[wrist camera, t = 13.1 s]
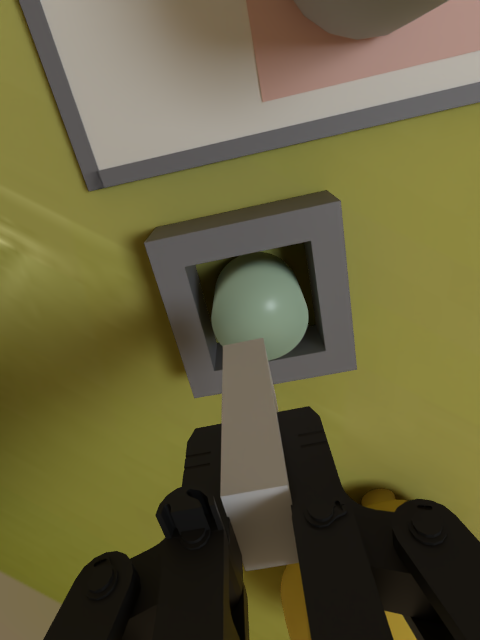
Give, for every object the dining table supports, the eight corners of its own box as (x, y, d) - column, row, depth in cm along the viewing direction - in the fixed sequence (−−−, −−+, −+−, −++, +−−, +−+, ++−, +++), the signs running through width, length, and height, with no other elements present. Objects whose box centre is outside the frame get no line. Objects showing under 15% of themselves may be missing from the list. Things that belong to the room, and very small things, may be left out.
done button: (225, 336, 23) (223, 368, 20) (206, 261, 21) (200, 285, 18) (303, 321, 23) (314, 352, 20) (291, 244, 21) (301, 265, 18)
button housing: (199, 368, 25) (194, 398, 22) (156, 227, 21) (143, 242, 18) (343, 341, 24) (356, 369, 21) (327, 190, 20) (340, 200, 17)
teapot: (360, 614, 37) (414, 833, 26) (208, 507, 31) (190, 737, 19) (496, 549, 33) (633, 775, 22) (354, 410, 26) (442, 628, 15)
